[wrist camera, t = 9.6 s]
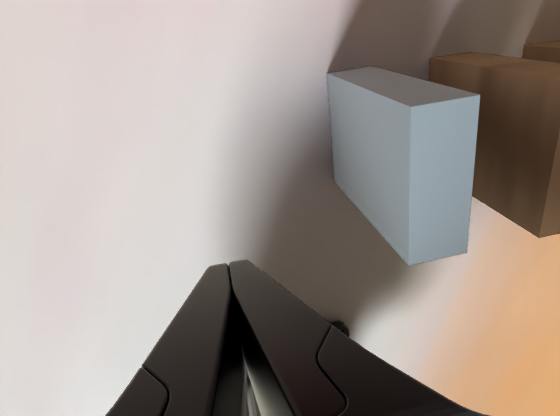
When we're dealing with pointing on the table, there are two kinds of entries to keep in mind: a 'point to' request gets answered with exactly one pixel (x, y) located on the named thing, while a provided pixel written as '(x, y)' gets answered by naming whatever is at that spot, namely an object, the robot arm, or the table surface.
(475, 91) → the domino
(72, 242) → the table surface
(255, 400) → the robot arm
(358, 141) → the domino
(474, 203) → the table surface
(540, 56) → the domino
